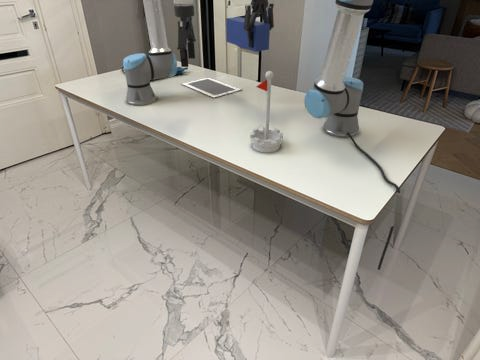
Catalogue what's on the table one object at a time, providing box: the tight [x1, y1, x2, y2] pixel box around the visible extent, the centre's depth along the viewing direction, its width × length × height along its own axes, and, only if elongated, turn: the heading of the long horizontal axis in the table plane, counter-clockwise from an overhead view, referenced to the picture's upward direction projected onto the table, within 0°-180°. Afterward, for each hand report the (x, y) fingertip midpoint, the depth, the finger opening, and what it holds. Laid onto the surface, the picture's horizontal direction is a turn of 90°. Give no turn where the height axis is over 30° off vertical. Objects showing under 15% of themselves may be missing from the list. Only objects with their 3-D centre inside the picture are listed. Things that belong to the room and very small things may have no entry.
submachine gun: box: [152, 66, 189, 81], centre depth 223 cm, size 34×4×25 cm
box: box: [225, 16, 271, 53], centre depth 159 cm, size 25×8×11 cm, turn 33°
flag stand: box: [249, 70, 284, 153], centre depth 129 cm, size 13×13×30 cm
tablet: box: [181, 77, 242, 99], centre depth 200 cm, size 32×20×1 cm, turn 41°
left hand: (188, 62), depth 140 cm, fingers open, 13 cm apart
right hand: (258, 46), depth 154 cm, fingers closed on box, 7 cm apart
